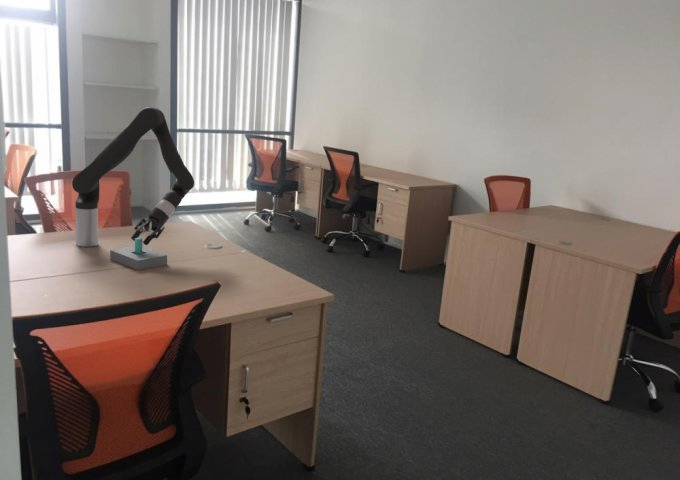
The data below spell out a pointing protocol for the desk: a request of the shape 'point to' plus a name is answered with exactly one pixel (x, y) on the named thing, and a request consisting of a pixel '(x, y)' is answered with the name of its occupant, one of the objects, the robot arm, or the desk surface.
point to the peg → (138, 246)
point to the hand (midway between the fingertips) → (138, 241)
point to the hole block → (138, 258)
